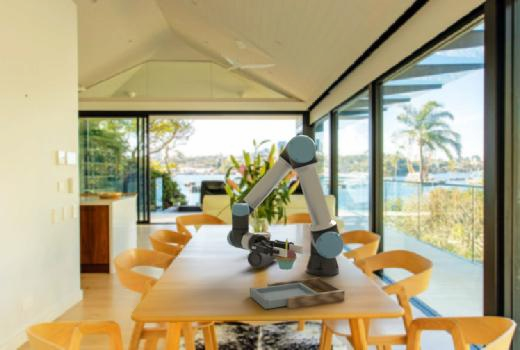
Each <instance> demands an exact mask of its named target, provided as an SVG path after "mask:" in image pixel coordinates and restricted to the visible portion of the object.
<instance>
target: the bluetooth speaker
mask: <svg viewBox="0 0 520 350" xmlns="http://www.w3.org/2000/svg"><path fill="white" fill-rule="evenodd" d="M273 248H274V245H273ZM247 255H248V256H247V262H248V264H249V266H250V267H252V268H256V269H257V268H265V267H267V266H269V265H271V264H272V262H273V261H275V255H274V254H273V256H270V254H269V253H268V255H265V254H263V253H256V252H253V251H252V252H249V254H247Z"/></svg>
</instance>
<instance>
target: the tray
mask: <svg viewBox="0 0 520 350" xmlns="http://www.w3.org/2000/svg"><path fill="white" fill-rule="evenodd" d="M315 293H318V292H317V291H315V290H313V289H312V288H308V287H307V286H305V285H303V284H302V283H293V284H285V285H277V286H269V287H267V286H263V287H262V286H261V287H255V288H254V287H253V286H252V287H249V296H250V297H251V298H252V299H253V300H254V301H255V302H257V303H258V304H259V305H260V306H261V307H262V308H263V309H265V310H267V309H273V308H274V309H275V308H280V307H287V297H294V296H301V295H308V294H315Z"/></svg>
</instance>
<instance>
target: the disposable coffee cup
mask: <svg viewBox="0 0 520 350" xmlns="http://www.w3.org/2000/svg"><path fill="white" fill-rule="evenodd" d="M255 233H256V234H260V235H264V236H265V237H266V239H267V240H271V238H272V234H271V233H272V232H269V231H256V232H255Z"/></svg>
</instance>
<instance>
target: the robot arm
mask: <svg viewBox="0 0 520 350" xmlns="http://www.w3.org/2000/svg"><path fill="white" fill-rule="evenodd" d="M317 156H318V155H317V146H316V143H315V141H314V140H313V139H312V138H311V137H309V136H308V135H305V134H304V135H303V134H299V135H295V136H293V137H292V138H291V139H290V140H289V141H288V142H287V144H286V145H285V147H284V149H283V150H282V151H281V153H280V154H279V155H278V157H277V158H278V159H277V160H276V162H275V163H274V164H273V165H272V166H271V167H270V168H269V170H268V171H266V173H265V174H264V175H263V177H261V179H260V180H259V181H258V182H257V183H256V184H255V185H254V187H252V189H251V190H250V191H249V192H248V193H247V195H245V197H244V198H243V199H242V200H241V201H240V202H235V203H233V204H232V205H231V230H230V231H229V232H228V233H227V236H226V240H227V243H228V245H230V246H231V247H234V248H236V249H241V250H246V251H248V252H249V253H250V252H252V251H253V252H256V253H263V254H265V255H268V253H269V254H270V256H273V254H274V255H278V256H282V257H287V250H286V241H283V240H279V239H275V240H271V239H270V240H267V239H266V237H265V236H264V235H260V234H256V232H250V216H252V214H253V213H254V212H255V211H256V209H257V208H258V207H259V206H260V205H261V204H262V203H263V201H264V200H265V199H266V198H267V197H268V196H269V195H270V194H271V193H272V192H273V190H274V189H275V188H276V187H277V186H278V185H279V184H280V183H281V182H282V180H283V179H284V178H285V177H286V176H288V174H289V173H290V172H291V171H294V172H296V173H297V176H298V180H299V183H300V187H301V190H302V194H303V197H304V200H305V204H306V207H307V211H308V214H309V218H310V221H311V224H310V227H309V233H310V236H309V238H310V239H309V240H310V242H309V246H310V247H309V251H310V252H309V253H310V254H309V257H308V261H307V264H306V267H305V269H306V270H305V271H306V273H308V274H311V275H314V276H318V277H319V276H321V277H322V276H323V277H329V276H335V275H338V274H339V273H340V268H339V267H340V266H339V263H338V261H337V257H338V256H340V254H341V253H342V252H343V250H344V246H345V243H344V239H343V237H342V235H341V234H340V231H339V228H338V224H337V222H336V221H335V220H333V219H332V217H331V213H330V210H329V206H328V202H327V200H326V196H325V192H324V189H323V185H322V182H321V179H320V175H319V172H318V169H317V166H318V165H319V158H318V157H317ZM273 245H274V248H273ZM287 249H288V250H292V251H293V252H294V253H296V254H299V255H303V254H304V246H301V245H296V244H295V243H294V242H292V241H288V244H287Z"/></svg>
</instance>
